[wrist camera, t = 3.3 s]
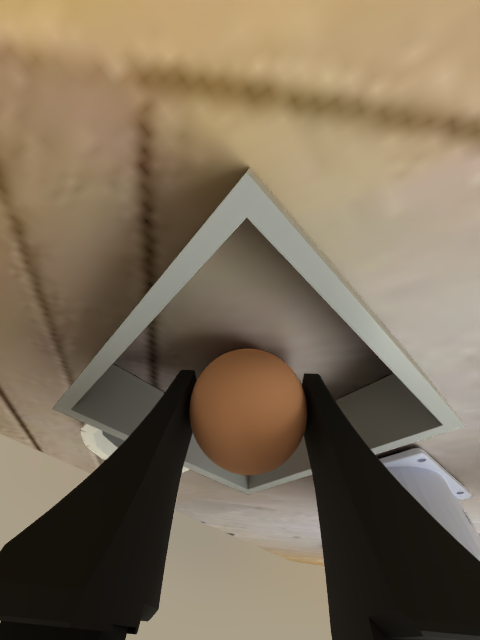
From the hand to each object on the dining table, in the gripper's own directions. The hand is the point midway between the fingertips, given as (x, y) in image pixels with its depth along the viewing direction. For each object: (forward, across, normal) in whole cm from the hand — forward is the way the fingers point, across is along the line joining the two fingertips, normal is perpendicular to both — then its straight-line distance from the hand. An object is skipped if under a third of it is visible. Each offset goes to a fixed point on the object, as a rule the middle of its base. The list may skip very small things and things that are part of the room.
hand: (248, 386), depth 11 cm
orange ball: (-1, 0, 0) cm, 1 cm away
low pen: (+1, 0, 0) cm, 1 cm away
